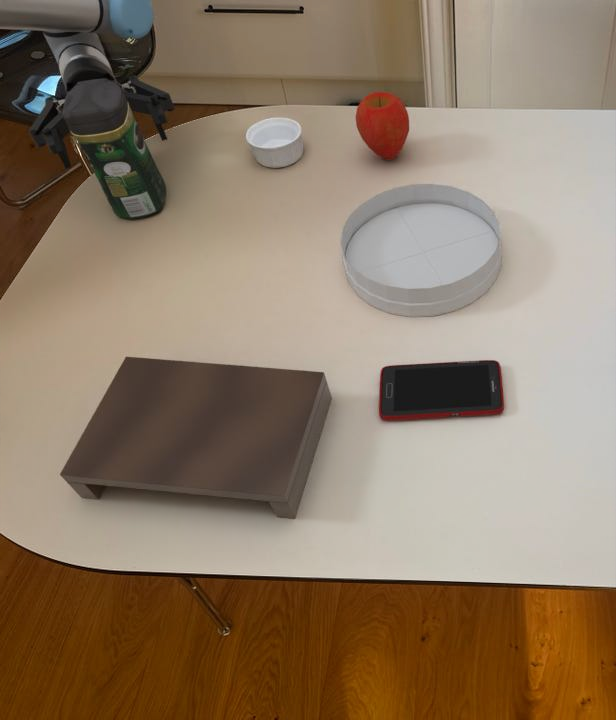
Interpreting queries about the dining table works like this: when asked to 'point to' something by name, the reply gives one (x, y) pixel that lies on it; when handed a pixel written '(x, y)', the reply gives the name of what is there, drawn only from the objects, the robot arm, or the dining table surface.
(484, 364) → the cell phone
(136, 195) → the coffee jar
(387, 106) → the apple
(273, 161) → the ramekin
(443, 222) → the dish
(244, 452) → the shelf
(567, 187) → the dining table surface
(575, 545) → the dining table surface
